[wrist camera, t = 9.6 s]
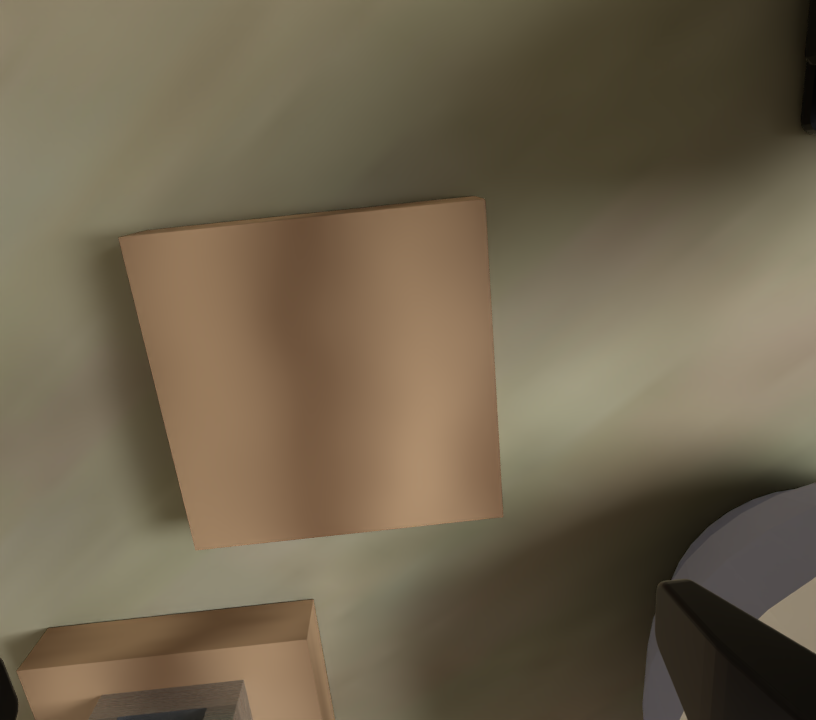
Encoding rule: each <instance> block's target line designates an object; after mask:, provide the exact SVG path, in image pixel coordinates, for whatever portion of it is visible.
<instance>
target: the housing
mask: <svg viewBox="0 0 816 720" xmlns="http://www.w3.org/2000/svg"><path fill="white" fill-rule="evenodd" d="M88 720H253V718H252V713H251V709H250V705H249V701H248V696H247V692H246V688H245V683H244V680H237V681H227V682H218V683H209V684H199V685H190V686H181V687H171V688H162V689H153V690H144V691H134V692H125V693H116V694H106V695H101V697H100V699H99V701H98V702H97V704H96V706H95V708H94V710H93V712H92V714H91V715H90V717H89V719H88Z"/></svg>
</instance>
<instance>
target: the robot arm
mask: <svg viewBox="0 0 816 720" xmlns="http://www.w3.org/2000/svg"><path fill="white" fill-rule="evenodd" d="M805 57H806V59H807V62H806V72H805V82H804V92H803V103H802V113H801V125H802V127H803V129H804V130H805V131H806V132H808V133H809V134H816V0H810V8H809V18H808V28H807V38H806V49H805ZM655 637H656V642H657V645H658V648H659V651H660V653H661V656H662V658H663V661H664V663H665V666H666V668H667V671H668V673H669V676H670V678H671V680H672V683H673V685H674V688H675V690H676V693H677V695H678V698H679V700H680V702H681V705H682V707H683V710H684V712H685V715H686V717H687V720H816V653H814V652H812V651H811V650H809V649H807V648H806V647H804V646H802V645H800V644H799V643H797V642H795V641H794V640H792V639H790V638H789V637H787V636H785V635H784V634H782V633H780V632H779V631H777V630H775V629H773V628H772V627H770V626H768V625H767V624H765V623H763V622H762V621H760V620H758V619H757V618H755V617H753V616H752V615H750V614H748V613H746V612H745V611H743V610H741V609H740V608H738V607H736V606H735V605H733V604H731V603H730V602H728V601H726V600H725V599H723V598H721V597H719V596H718V595H716V594H714V593H713V592H711V591H709V590H708V589H706V588H704V587H703V586H701V585H699V584H698V583H696V582H694V581H692V580H690V579H677V580H667V581H662V582H660V583H659V584H658V586H657V589H656V607H655ZM17 713H18V699H17V695H16V693H15V690H14V688H13V685H12V683H11V680H10V677H9V675H8V672H7V670H6V667H5V665H4V662H3V660H2V659H1V658H0V720H16V717H17Z"/></svg>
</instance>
